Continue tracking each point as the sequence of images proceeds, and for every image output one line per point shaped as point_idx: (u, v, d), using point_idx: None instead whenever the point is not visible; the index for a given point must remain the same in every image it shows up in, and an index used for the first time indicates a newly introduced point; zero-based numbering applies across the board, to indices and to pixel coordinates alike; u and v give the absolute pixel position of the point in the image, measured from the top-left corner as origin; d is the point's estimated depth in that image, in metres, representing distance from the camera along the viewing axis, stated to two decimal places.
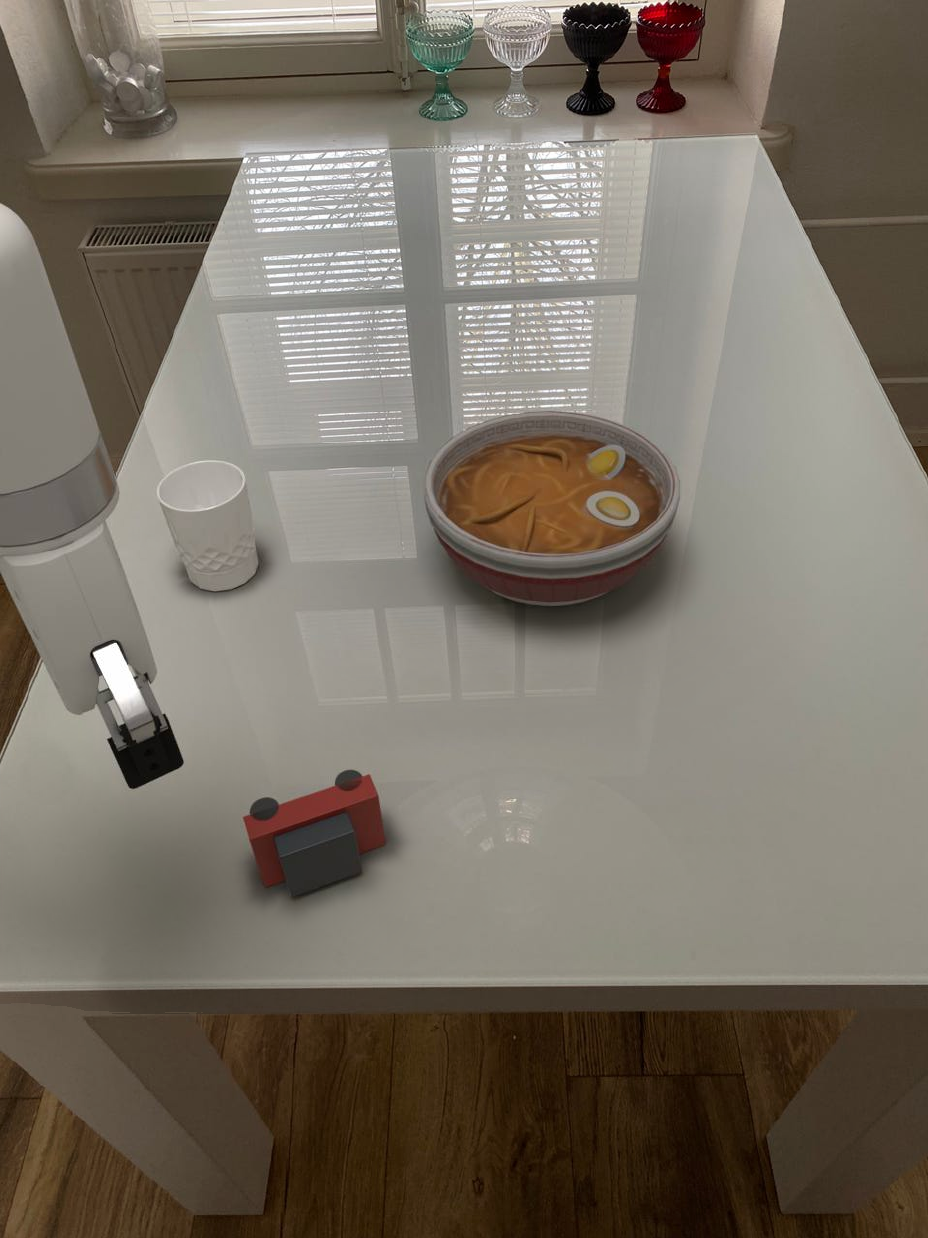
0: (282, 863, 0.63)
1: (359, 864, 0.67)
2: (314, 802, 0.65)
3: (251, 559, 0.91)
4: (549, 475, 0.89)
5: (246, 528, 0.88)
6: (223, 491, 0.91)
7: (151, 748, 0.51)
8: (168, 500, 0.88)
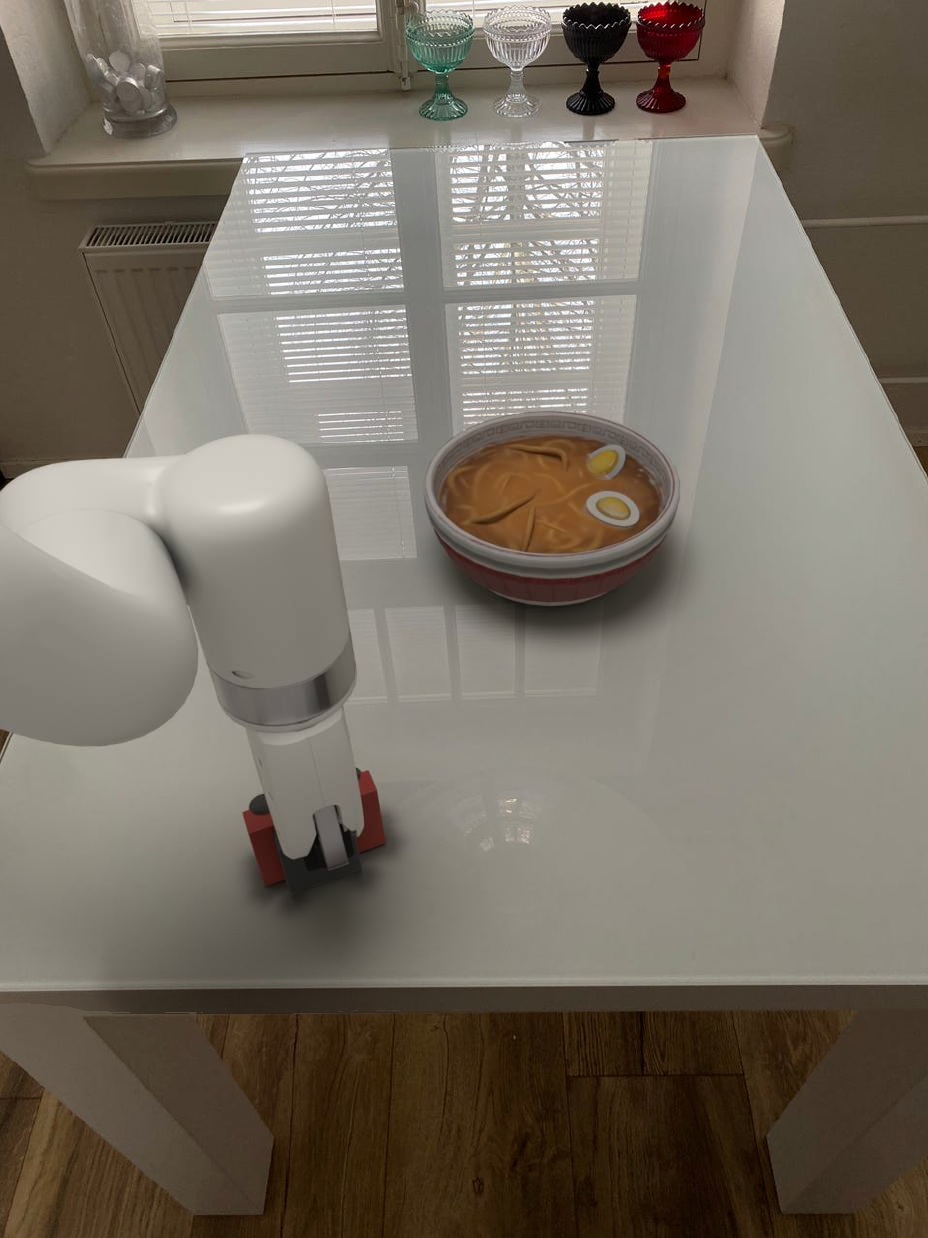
0: (281, 857, 0.63)
1: (358, 861, 0.67)
2: None
3: None
4: (549, 475, 0.89)
5: None
6: None
7: None
8: None
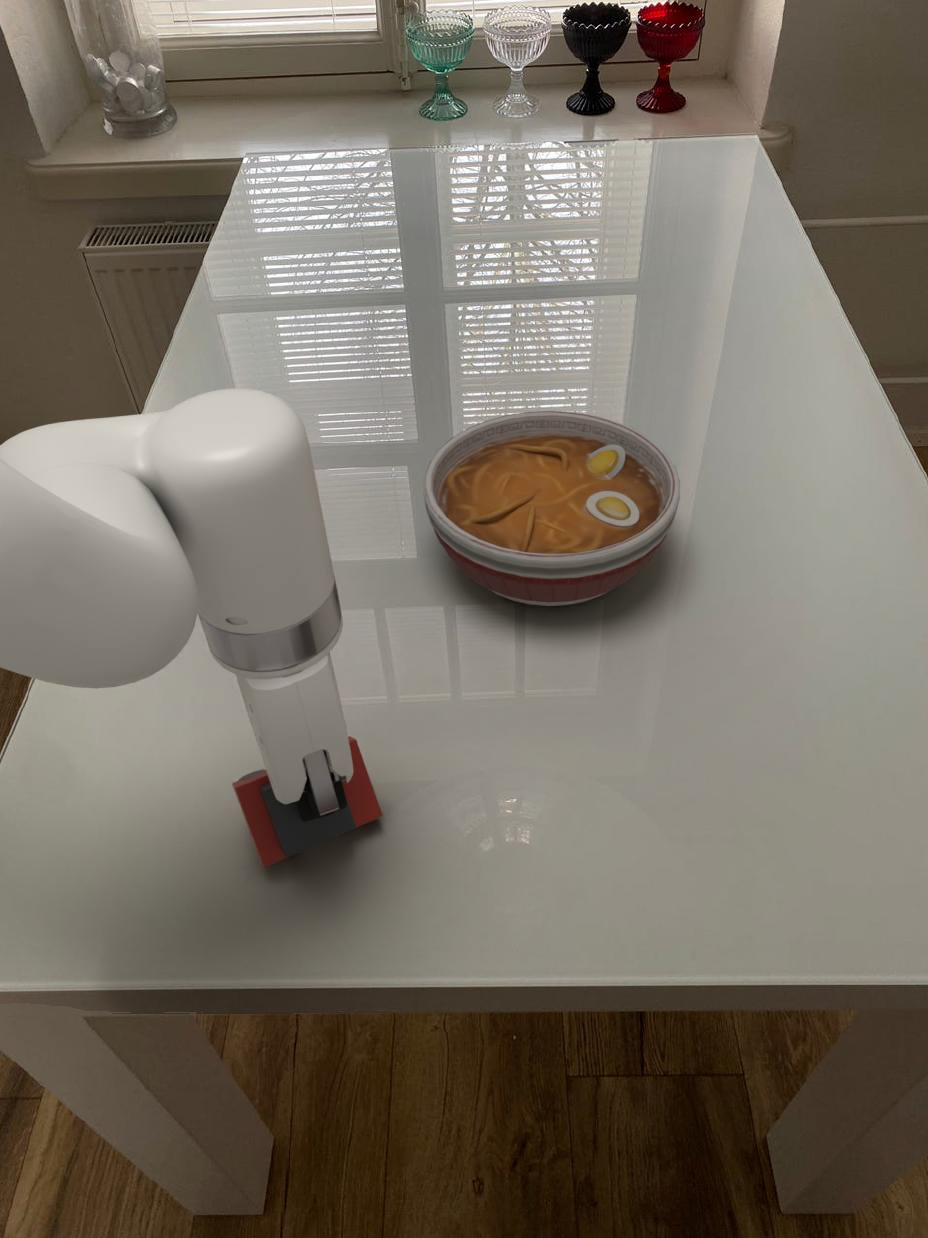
0: (266, 800, 0.65)
1: (350, 814, 0.67)
2: None
3: None
4: (549, 475, 0.89)
5: None
6: None
7: None
8: None
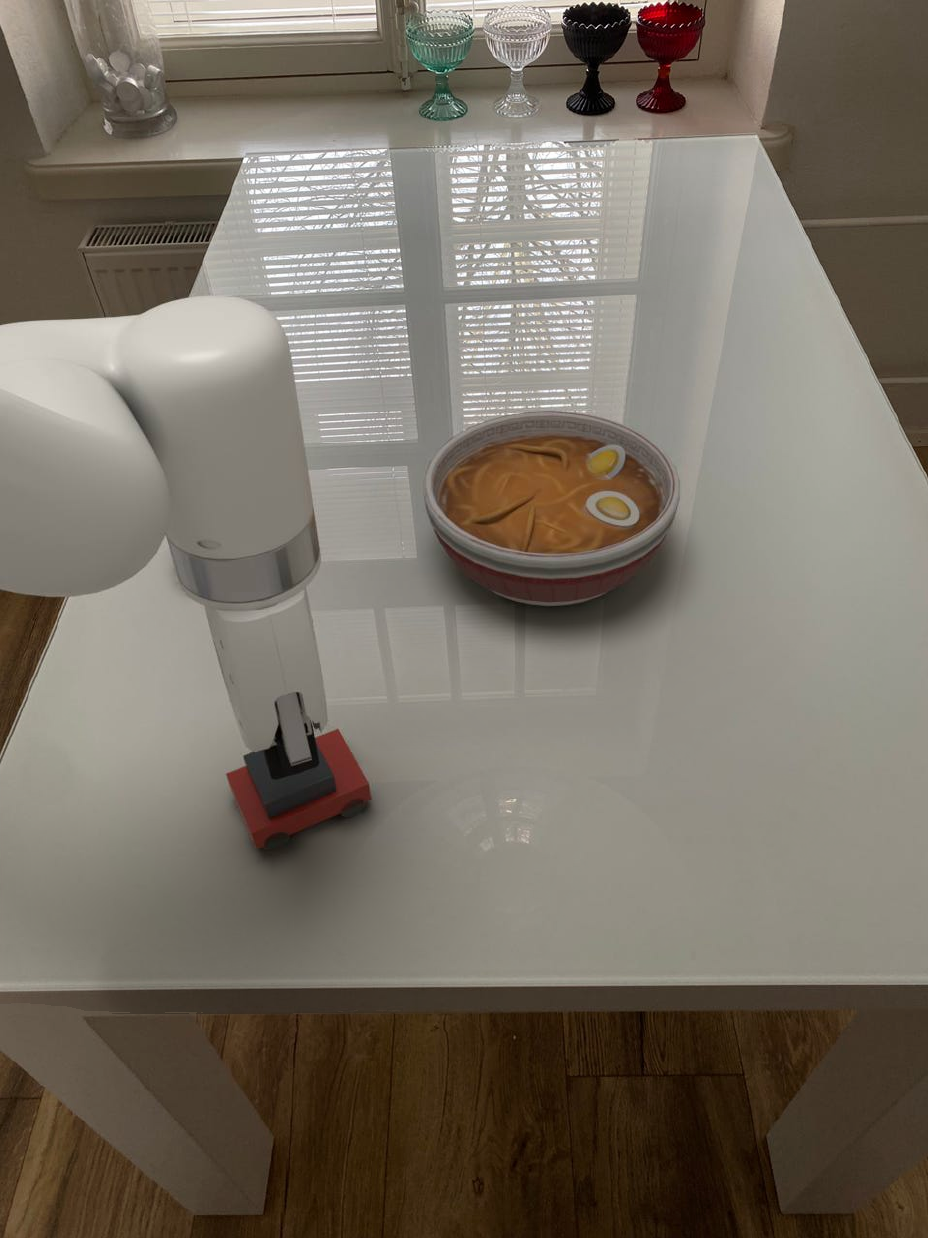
0: (246, 762, 0.69)
1: (327, 766, 0.69)
2: None
3: None
4: (549, 475, 0.89)
5: None
6: None
7: None
8: None
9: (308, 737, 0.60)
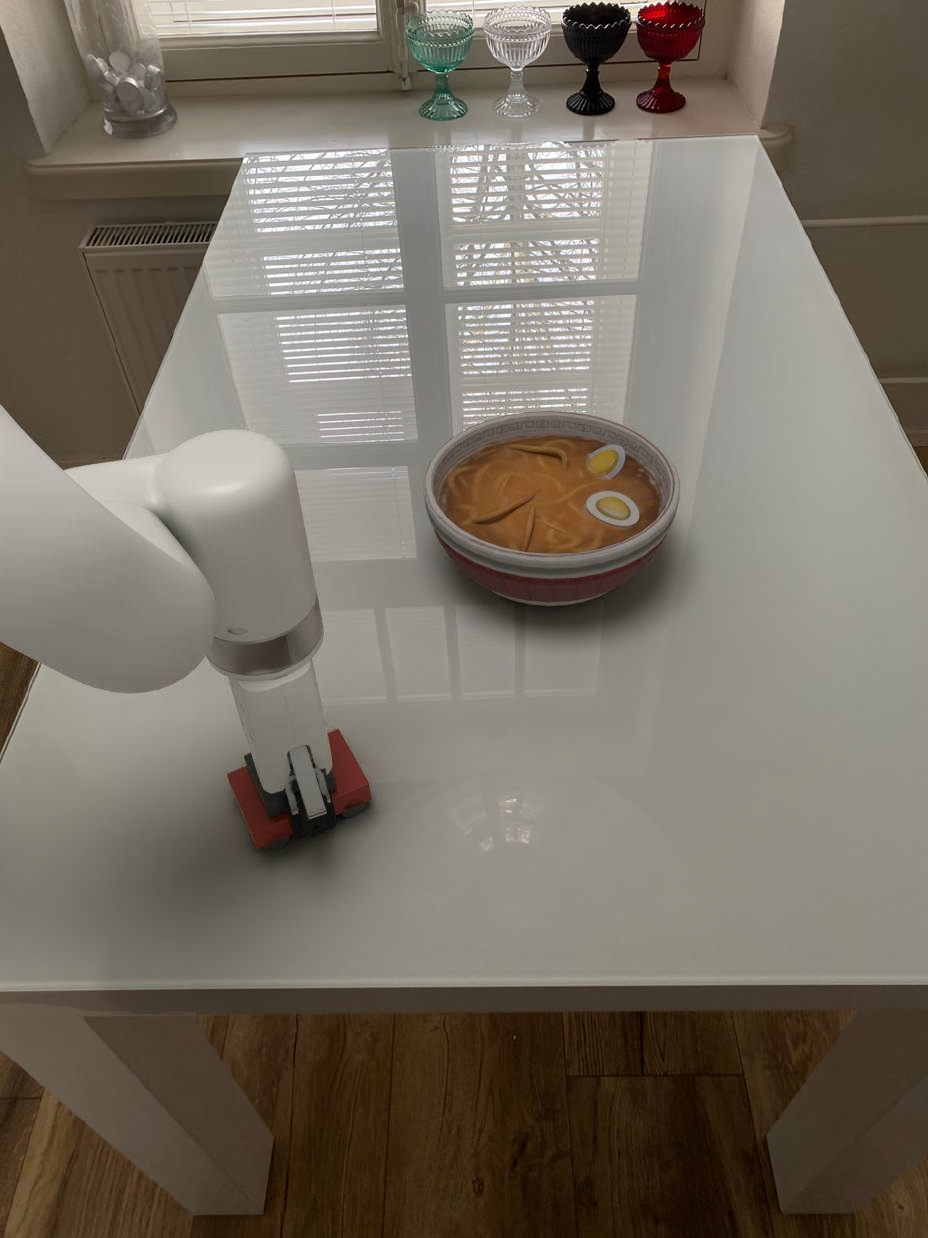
0: (247, 762, 0.69)
1: None
2: None
3: None
4: (549, 475, 0.89)
5: None
6: None
7: None
8: None
9: (327, 803, 0.68)
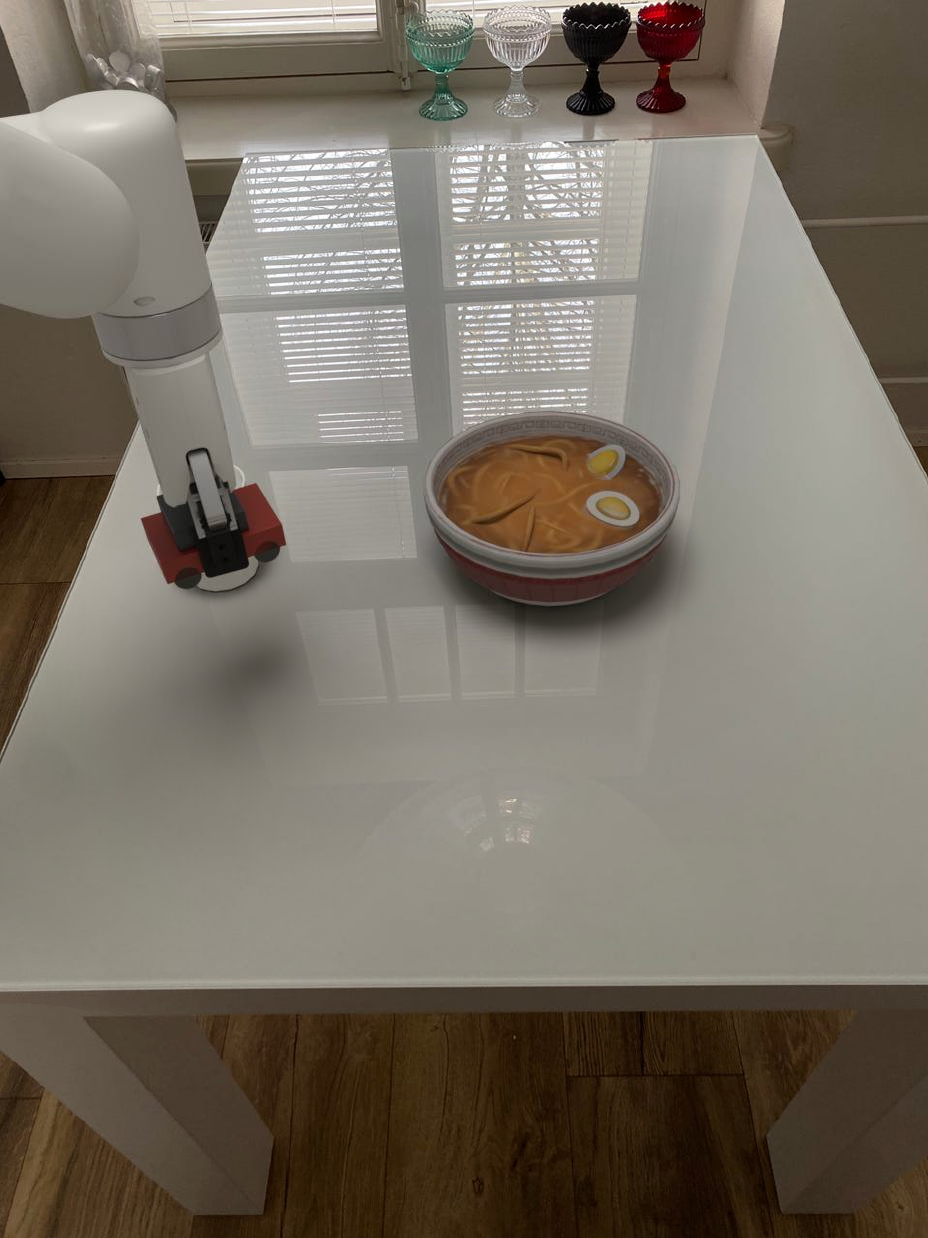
0: (159, 500, 0.69)
1: (238, 503, 0.69)
2: None
3: (251, 559, 0.91)
4: (549, 475, 0.89)
5: None
6: None
7: (224, 543, 0.67)
8: None
9: (236, 535, 0.68)
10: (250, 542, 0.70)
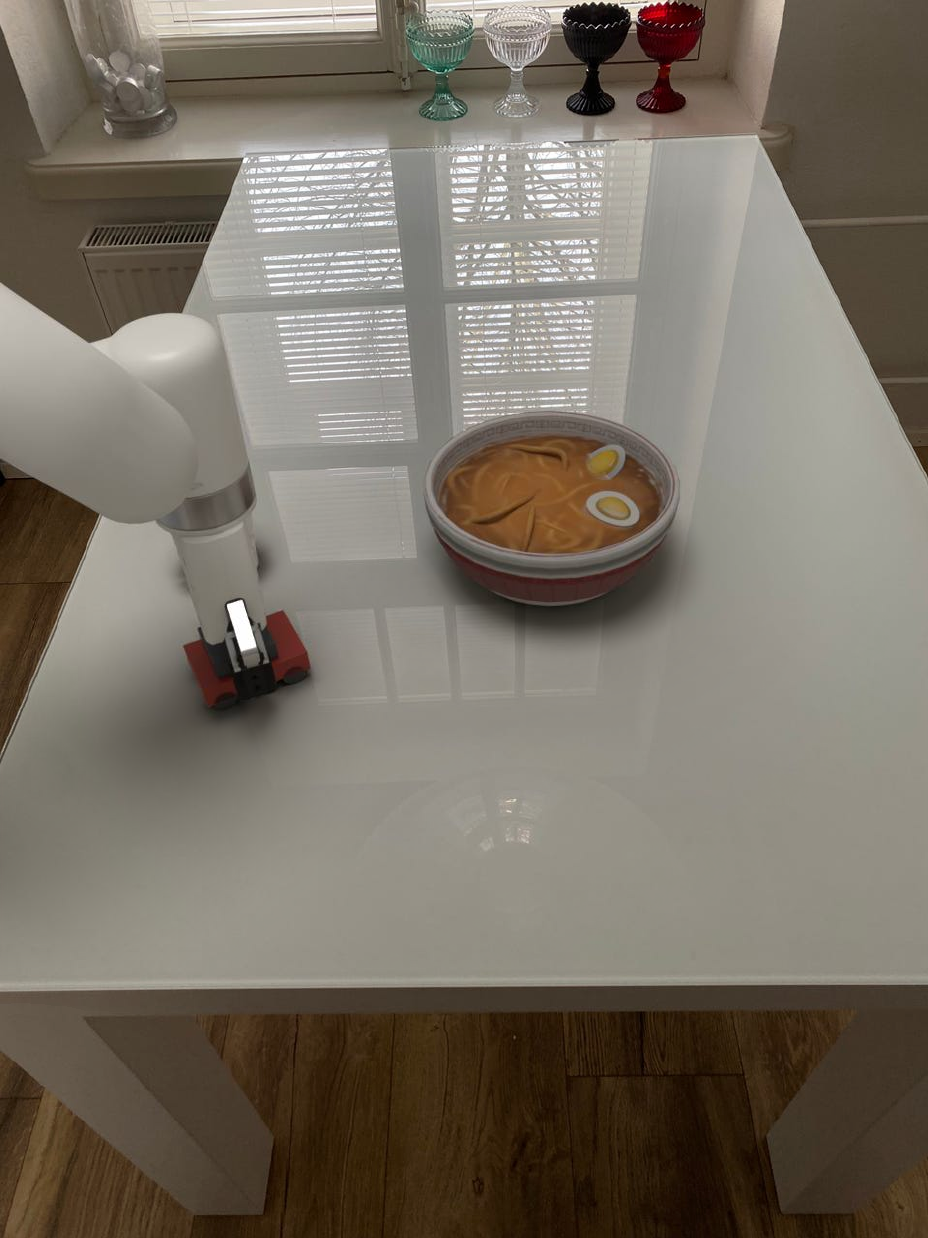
0: (200, 632, 0.80)
1: (270, 635, 0.79)
2: None
3: None
4: (549, 475, 0.89)
5: None
6: None
7: (256, 674, 0.75)
8: None
9: (267, 666, 0.76)
10: (279, 668, 0.80)
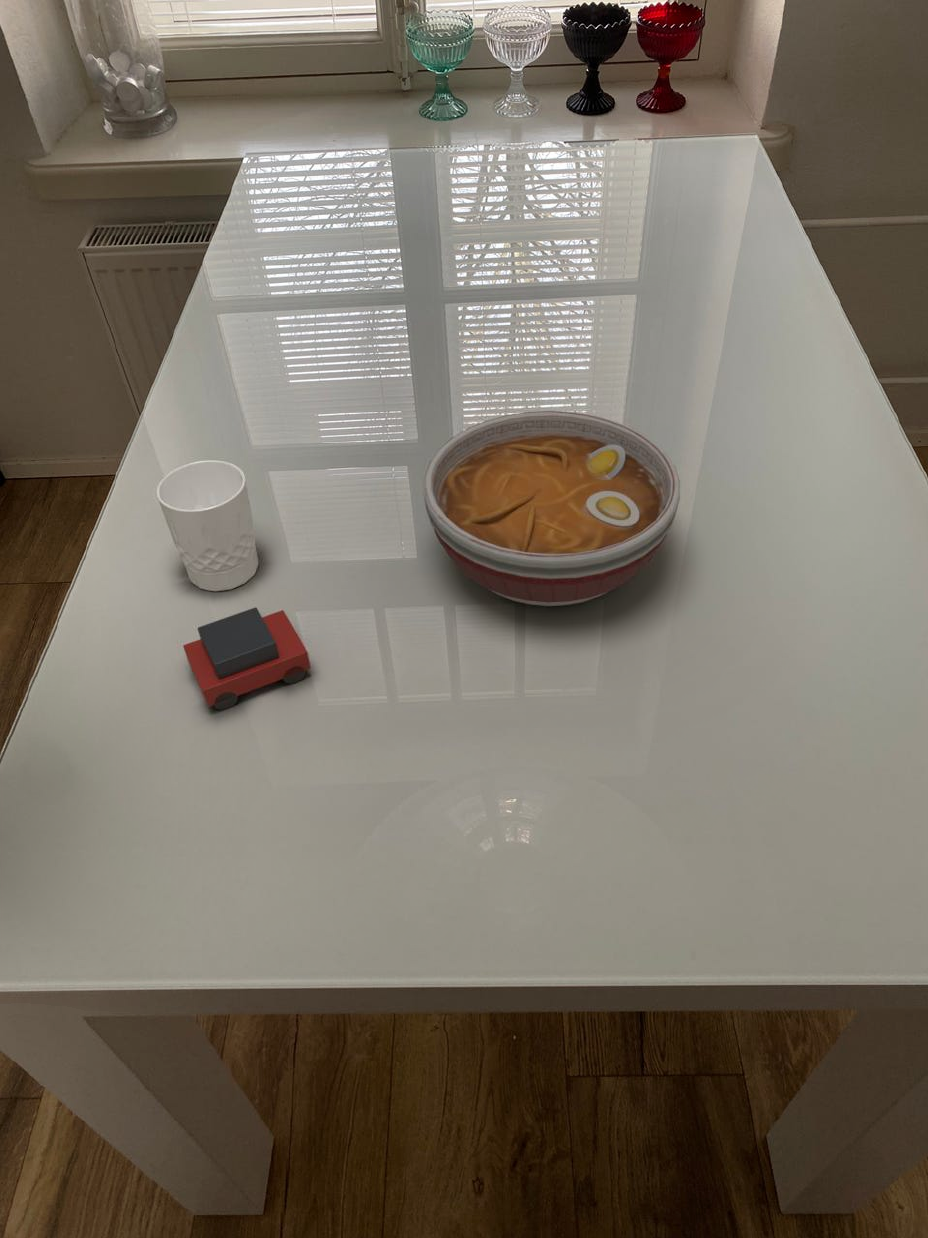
0: (200, 632, 0.80)
1: (270, 635, 0.79)
2: None
3: (251, 559, 0.91)
4: (549, 475, 0.89)
5: (246, 528, 0.88)
6: (223, 491, 0.91)
7: None
8: (168, 500, 0.88)
9: None
10: (279, 668, 0.80)
